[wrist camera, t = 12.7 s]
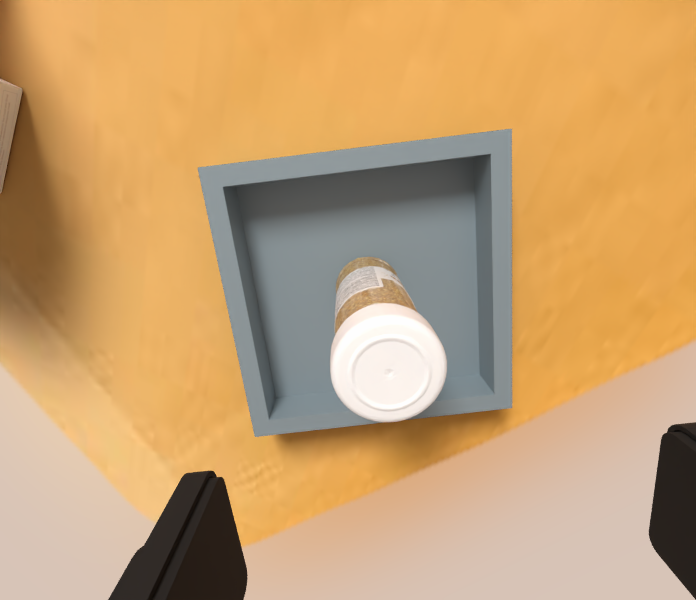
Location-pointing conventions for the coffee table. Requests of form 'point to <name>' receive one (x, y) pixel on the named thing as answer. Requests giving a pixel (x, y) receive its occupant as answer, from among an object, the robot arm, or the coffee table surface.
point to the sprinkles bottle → (382, 346)
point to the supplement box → (7, 122)
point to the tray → (365, 241)
